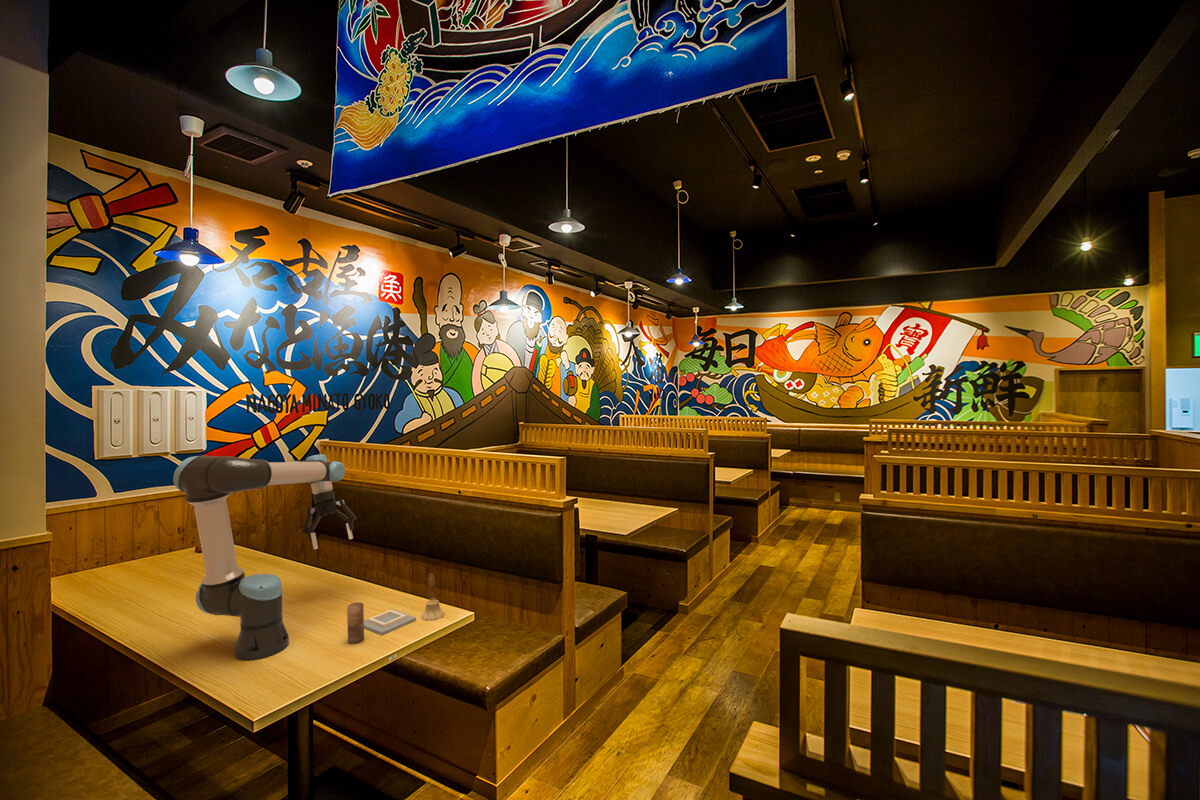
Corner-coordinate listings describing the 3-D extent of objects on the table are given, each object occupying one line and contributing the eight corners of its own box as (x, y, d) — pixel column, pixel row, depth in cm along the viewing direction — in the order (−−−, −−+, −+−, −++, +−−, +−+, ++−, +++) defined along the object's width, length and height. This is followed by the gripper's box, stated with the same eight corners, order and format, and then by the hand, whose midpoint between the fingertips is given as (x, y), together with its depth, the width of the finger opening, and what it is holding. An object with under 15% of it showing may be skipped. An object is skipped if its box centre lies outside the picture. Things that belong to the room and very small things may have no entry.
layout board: (381, 635, 183) (381, 629, 182) (358, 625, 190) (358, 619, 190) (416, 620, 194) (415, 614, 194) (392, 611, 202) (392, 606, 202)
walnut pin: (353, 645, 175) (352, 609, 175) (344, 641, 178) (344, 606, 178) (367, 639, 180) (366, 604, 179) (358, 635, 182) (358, 601, 182)
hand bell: (431, 622, 192) (430, 579, 192) (416, 617, 197) (415, 575, 196) (449, 614, 199) (448, 572, 199) (434, 609, 204) (433, 568, 203)
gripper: (357, 484, 222) (368, 534, 219) (294, 501, 217) (304, 552, 214) (351, 483, 215) (362, 535, 211) (286, 501, 210) (297, 554, 207)
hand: (333, 544), depth 213 cm, fingers open, 13 cm apart
